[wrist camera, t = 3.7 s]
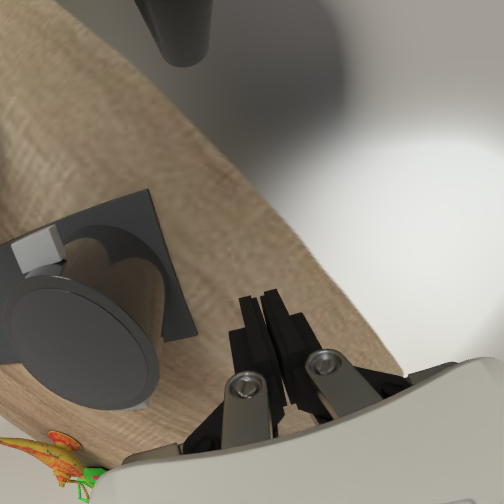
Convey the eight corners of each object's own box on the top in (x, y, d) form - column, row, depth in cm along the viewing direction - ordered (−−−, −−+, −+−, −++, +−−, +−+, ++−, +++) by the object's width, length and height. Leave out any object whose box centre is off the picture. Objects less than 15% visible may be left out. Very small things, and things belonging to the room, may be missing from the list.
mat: (148, 188, 16) (147, 189, 15) (197, 332, 20) (197, 335, 20) (-81, 291, 13) (-83, 293, 13) (-41, 363, 18) (-42, 364, 17)
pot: (27, 225, 15) (-33, 269, 8) (137, 183, 15) (95, 215, 9) (94, 358, 19) (73, 425, 13) (193, 341, 20) (195, 418, 14)
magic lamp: (6, 387, 20) (-23, 456, 10) (119, 460, 27) (114, 526, 17) (-4, 401, 20) (-27, 460, 10) (96, 466, 28) (91, 524, 18)
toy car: (76, 464, 28) (71, 496, 22) (104, 465, 28) (100, 500, 22) (119, 488, 32) (117, 517, 26) (147, 488, 32) (147, 519, 26)
